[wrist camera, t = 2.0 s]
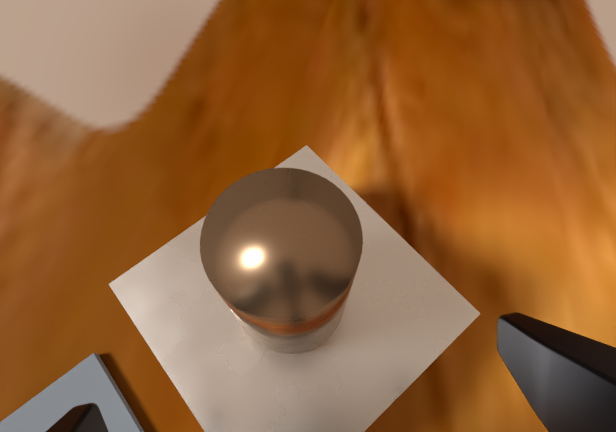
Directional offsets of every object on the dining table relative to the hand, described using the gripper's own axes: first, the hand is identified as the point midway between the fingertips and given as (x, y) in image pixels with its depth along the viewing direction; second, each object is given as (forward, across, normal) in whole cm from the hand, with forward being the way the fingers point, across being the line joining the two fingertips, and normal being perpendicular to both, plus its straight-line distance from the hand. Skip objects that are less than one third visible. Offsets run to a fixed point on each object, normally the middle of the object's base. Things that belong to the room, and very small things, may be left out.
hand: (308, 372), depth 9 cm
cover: (+10, 0, +5) cm, 11 cm away
